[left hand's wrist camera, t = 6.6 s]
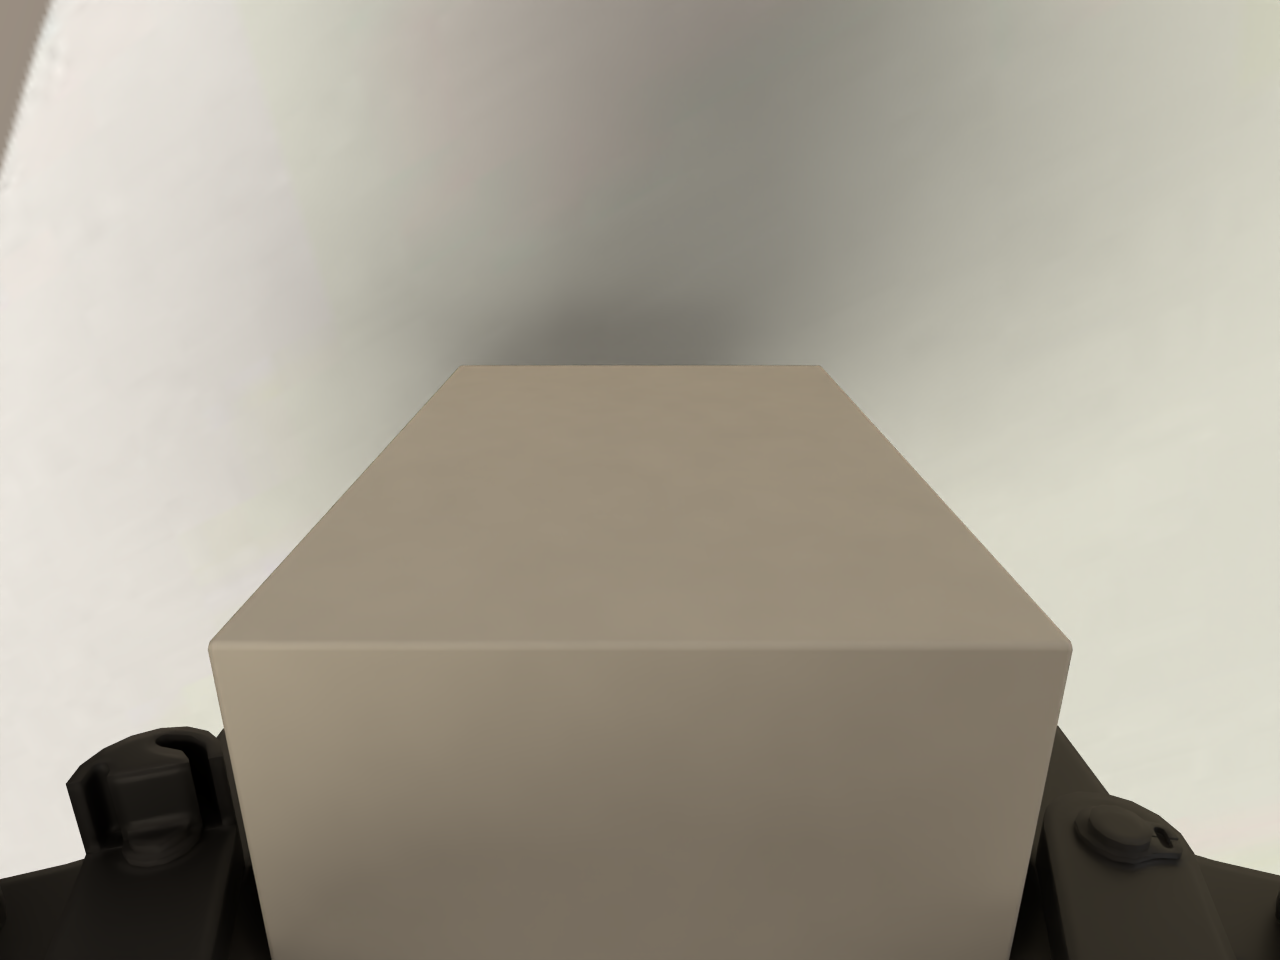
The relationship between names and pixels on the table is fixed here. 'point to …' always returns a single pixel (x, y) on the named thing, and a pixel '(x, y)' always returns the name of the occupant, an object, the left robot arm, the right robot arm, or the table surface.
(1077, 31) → the table surface
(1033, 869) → the left robot arm
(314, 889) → the bar
